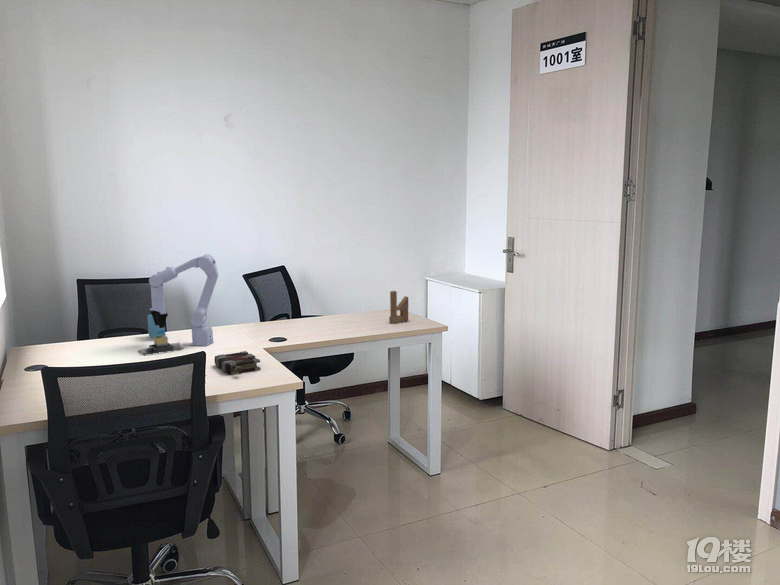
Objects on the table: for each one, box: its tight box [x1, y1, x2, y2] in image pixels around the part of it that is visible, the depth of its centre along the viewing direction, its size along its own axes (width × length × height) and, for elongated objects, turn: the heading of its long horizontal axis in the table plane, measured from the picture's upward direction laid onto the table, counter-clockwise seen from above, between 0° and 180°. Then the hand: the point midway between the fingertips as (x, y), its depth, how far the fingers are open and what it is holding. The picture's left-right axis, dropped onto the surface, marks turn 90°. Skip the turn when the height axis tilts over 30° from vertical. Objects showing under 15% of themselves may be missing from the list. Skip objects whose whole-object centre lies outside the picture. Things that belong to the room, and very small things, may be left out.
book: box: [214, 350, 262, 375], centre depth 270 cm, size 15×25×5 cm, turn 31°
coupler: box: [153, 335, 169, 348], centre depth 303 cm, size 5×5×6 cm
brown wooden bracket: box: [388, 290, 409, 324], centre depth 360 cm, size 4×11×18 cm, turn 122°
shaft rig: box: [137, 342, 184, 356], centre depth 304 cm, size 18×10×2 cm, turn 125°
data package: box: [146, 313, 167, 340], centre depth 328 cm, size 12×4×12 cm, turn 40°
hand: (159, 326), depth 313 cm, fingers open, 7 cm apart
